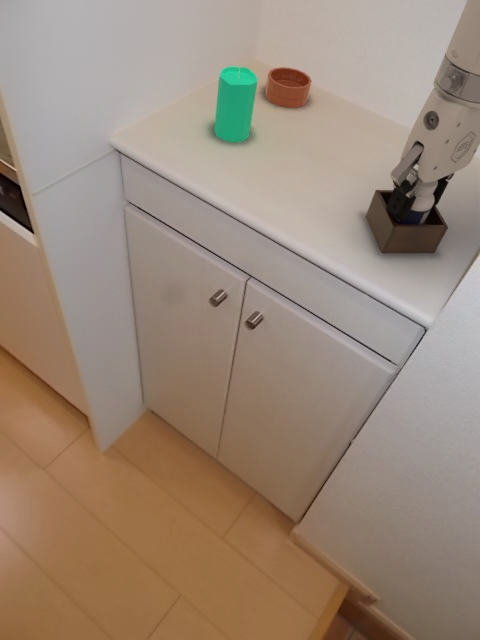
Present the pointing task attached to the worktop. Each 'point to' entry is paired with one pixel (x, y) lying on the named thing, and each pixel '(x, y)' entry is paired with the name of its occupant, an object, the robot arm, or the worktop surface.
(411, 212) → the pill bottle
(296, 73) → the bowl
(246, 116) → the candle
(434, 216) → the box
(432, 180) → the robot arm
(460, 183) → the worktop surface
